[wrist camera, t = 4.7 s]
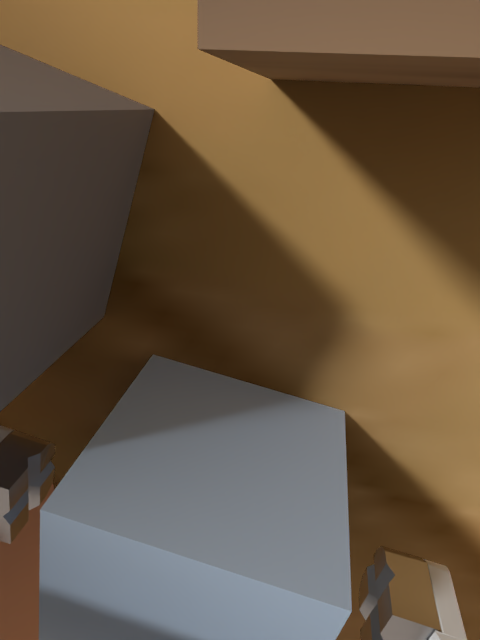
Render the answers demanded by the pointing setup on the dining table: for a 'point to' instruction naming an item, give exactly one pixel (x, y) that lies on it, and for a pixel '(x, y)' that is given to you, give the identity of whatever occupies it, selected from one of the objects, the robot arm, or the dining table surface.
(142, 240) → the dining table surface
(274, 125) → the dining table surface
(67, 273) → the charcoal cube
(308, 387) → the dining table surface
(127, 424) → the dusty blue cube
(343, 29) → the walnut cube
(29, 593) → the terracotta cube
